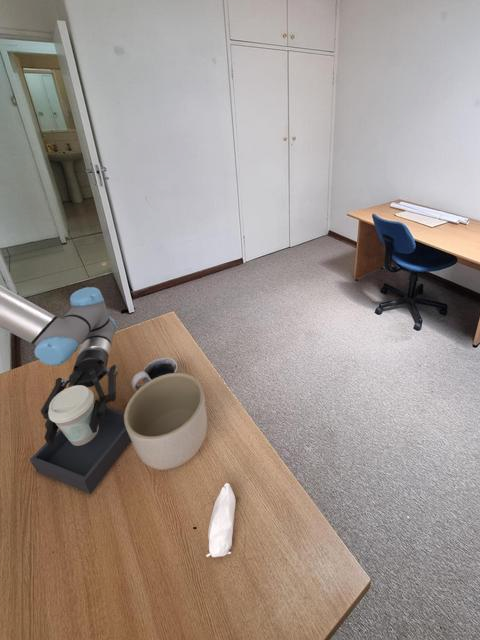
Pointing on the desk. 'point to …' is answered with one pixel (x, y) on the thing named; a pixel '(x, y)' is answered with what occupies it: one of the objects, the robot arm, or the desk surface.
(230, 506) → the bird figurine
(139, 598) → the desk surface
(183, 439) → the planter
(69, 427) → the coffee cup
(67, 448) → the bin
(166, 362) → the mug
